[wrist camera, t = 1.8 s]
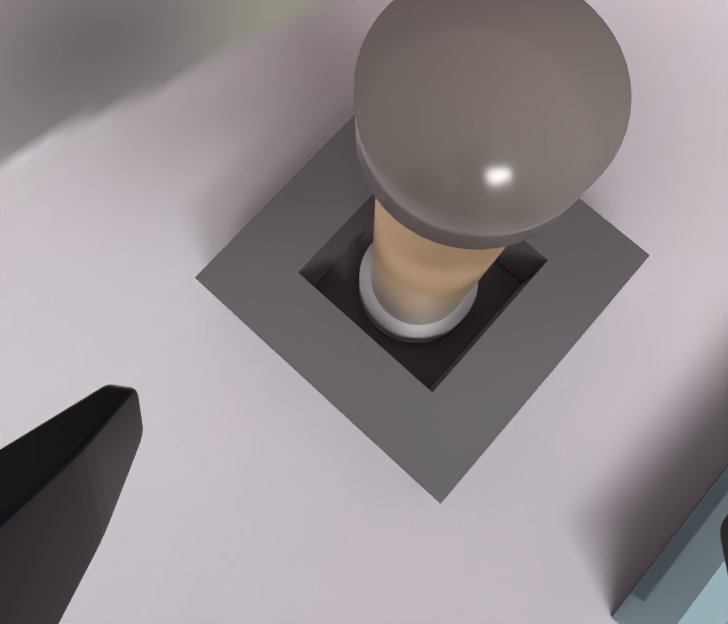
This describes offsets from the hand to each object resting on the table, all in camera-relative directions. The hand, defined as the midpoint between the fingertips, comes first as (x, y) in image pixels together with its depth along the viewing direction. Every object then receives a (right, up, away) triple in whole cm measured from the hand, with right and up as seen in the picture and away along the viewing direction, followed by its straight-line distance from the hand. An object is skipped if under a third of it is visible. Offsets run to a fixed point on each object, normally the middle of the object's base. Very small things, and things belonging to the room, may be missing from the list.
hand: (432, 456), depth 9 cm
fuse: (+1, +3, +13) cm, 13 cm away
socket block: (+1, +3, +13) cm, 13 cm away
